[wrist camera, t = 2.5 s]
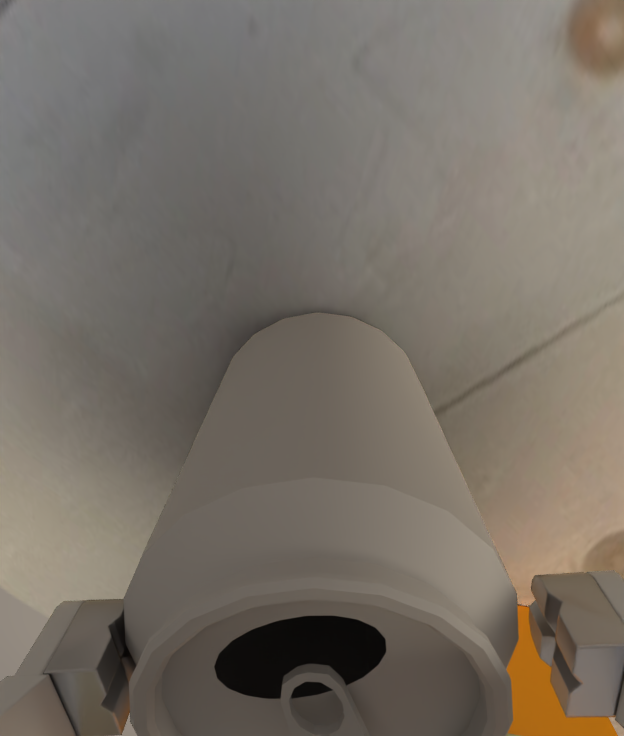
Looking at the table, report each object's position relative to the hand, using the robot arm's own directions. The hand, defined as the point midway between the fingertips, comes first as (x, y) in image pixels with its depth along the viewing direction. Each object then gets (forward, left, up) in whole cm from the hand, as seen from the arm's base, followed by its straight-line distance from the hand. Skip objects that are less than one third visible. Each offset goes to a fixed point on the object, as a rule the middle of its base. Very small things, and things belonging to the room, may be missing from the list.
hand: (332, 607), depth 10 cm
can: (0, 0, -10) cm, 10 cm away
